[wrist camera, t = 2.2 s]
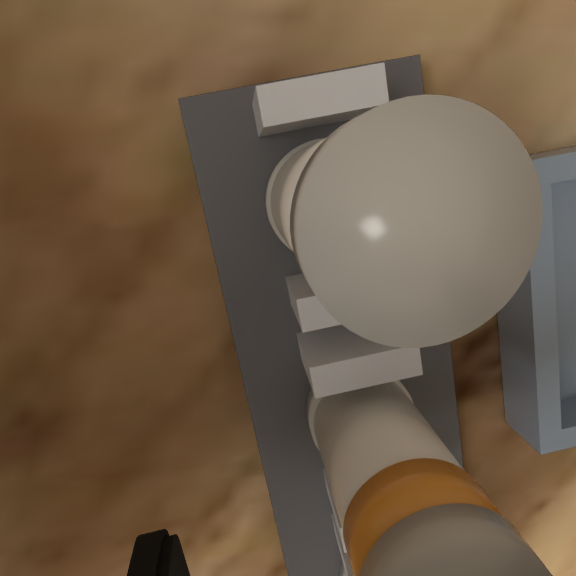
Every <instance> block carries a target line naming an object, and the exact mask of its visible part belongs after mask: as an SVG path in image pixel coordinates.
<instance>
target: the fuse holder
mask: <svg viewBox="0 0 576 576" xmlns="http://www.w3.org/2000/svg"><path fill="white" fill-rule="evenodd" d="M416 95H424V90H423V80H422V71H421V61H420V55H414V56H409V57H403V58H398V59H392V60H387V61H381V62H376V63H370V64H365V65H360V66H354V67H349V68H343V69H338V70H332V71H327V72H321V73H316V74H310V75H305V76H299V77H294V78H288V79H283V80H278V81H272V82H267V83H261V84H256V85H250V86H245V87H239V88H234V89H228V90H223V91H217V92H212V93H207V94H201V95H196V96H190V97H185V98H179V99H178V101H179V105H180V110H181V114H182V118H183V123H184V127H185V131H186V136H187V140H188V144H189V149H190V153H191V157H192V162H193V166H194V170H195V175H196V179H197V183H198V187H199V192H200V196H201V200H202V205H203V209H204V213H205V218H206V222H207V226H208V231H209V235H210V239H211V244H212V248H213V252H214V257H215V261H216V265H217V270H218V274H219V278H220V283H221V287H222V291H223V296H224V300H225V304H226V309H227V313H228V317H229V322H230V326H231V330H232V335H233V339H234V343H235V348H236V352H237V356H238V361H239V365H240V369H241V374H242V378H243V382H244V387H245V391H246V395H247V400H248V404H249V408H250V413H251V417H252V421H253V426H254V430H255V434H256V439H257V443H258V447H259V452H260V456H261V460H262V465H263V469H264V473H265V478H266V482H267V486H268V491H269V495H270V499H271V504H272V508H273V512H274V517H275V521H276V525H277V530H278V534H279V538H280V543H281V547H282V551H283V556H284V560H285V564H286V569H287V573H288V576H339V569H340V565H341V563H342V561H343V564H344V568H345V572H346V576H354V575H353V571H352V568H351V564H350V561H349V558H348V554H347V551H346V547H345V543H344V538H343V529H342V526H341V522H340V519H339V515H338V512H337V509H336V505H335V502H334V498H333V495H332V492H331V488H330V485H329V481H328V478H327V474H326V471H325V468H324V464H323V461H322V457H321V454H320V451H319V450H318V448H317V446H316V445H315V443H314V441H313V438H312V434H311V431H310V427H309V424H308V420H307V416H306V402H307V398H308V394H309V392H310V389H311V388H312V391H313V394H314V397H315V399H316V398H320V397H325V396H329V395H334V394H338V393H343V392H347V391H352V390H356V389H361V388H365V387H370V386H374V385H379V384H383V383H388V382H392V381H397V380H399V381H400V382H401V383H402V384H403V386H404V387H405V388H406V390H407V391H408V392H409V394H410V396H411V398H412V401H413V404H414V405H415V407H416V408H417V409H418V411H419V412H420V413H421V414H422V416H423V417H424V418H425V420H426V421H427V422H428V424H429V425H430V426H431V427H432V429H433V430H434V431H435V433H436V434H437V435H438V437H439V438H440V439H441V441H442V442H443V443H444V444H445V446H446V447H447V448H448V450H449V451H450V452H451V454H452V455H453V456H454V457H455V459H456V460H457V461H458V463H459V464H460V465H461V467H462V468H463V459H462V450H461V440H460V431H459V421H458V412H457V402H456V393H455V383H454V374H453V364H452V355H451V346H450V342H446V343H443V344H439V345H435V346H429V347H422V348H401V347H391V346H387V345H383V344H378V343H375V342H373V341H370V340H367V339H365V338H362V337H361V336H359V335H357V334H355V333H353V332H351V331H350V330H348V329H347V328H346V327H344V326H343V325H342V324H340V323H339V322H338V321H337V320H336V319H335V318H334V317H333V316H332V315H331V314H330V313H329V312H328V311H327V310H326V309H325V308H324V306H323V305H322V304H321V303H320V301H319V300H318V299H317V297H316V295H315V294H314V292H313V291H312V289H311V288H310V286H309V285H308V283H307V281H306V280H305V278H304V276H303V274H302V273H301V271H300V268H299V266H298V263H297V261H296V258H295V255H294V252H293V251H292V250H290V249H289V248H288V247H287V246H286V245H285V244H284V243H283V242H282V241H281V240H280V239H279V237H278V236H277V235H276V233H275V232H274V230H273V228H272V226H271V224H270V222H269V220H268V217H267V213H266V207H265V192H266V186H267V182H268V179H269V177H270V174H271V172H272V171H273V169H274V167H275V166H276V164H277V163H278V162H279V160H280V159H281V158H282V157H283V156H284V155H286V154H287V153H288V152H289V151H291V150H292V149H294V148H296V147H298V146H300V145H302V144H304V143H306V142H309V141H312V140H316V139H323V138H327V137H328V136H329V135H330V134H331V133H333V132H334V131H335V130H336V129H338V128H339V127H340V126H342V125H343V124H345V123H347V122H348V121H350V120H352V119H353V118H355V117H357V116H359V115H361V114H363V113H365V112H367V111H369V110H371V109H373V108H375V107H377V106H380V105H382V104H385V103H387V102H389V101H392V100H396V99H400V98H404V97H408V96H416Z"/></svg>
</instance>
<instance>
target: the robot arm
mask: <svg viewBox="0 0 576 576" xmlns="http://www.w3.org/2000/svg"><path fill="white" fill-rule="evenodd" d="M127 576H190V573H189V570H188V567H187V563H186V560H185V557H184V554H183V550H182V547H181V544H180V540H179V538H178V535H177V534H174V535H170V536H169V533H168V531H167V530H166V529H163V530H158V531H154V532H150V533H146V534H142V535H139V536H138V537H137V538H136V541H135V545H134V549H133V553H132V557H131V561H130V565H129V569H128V573H127Z"/></svg>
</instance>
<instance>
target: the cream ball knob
mask: <svg viewBox="0 0 576 576" xmlns="http://www.w3.org/2000/svg"><path fill="white" fill-rule="evenodd" d="M265 207H266V213H267V217H268V220H269V222H270V224H271V226H272V228H273V230H274V232H275V233H276V235H277V236H278V237H279V239H280V240H281V241H282V242H283V243H284V244H285V245H286V246H287V247H288V248H289V249H290V250H292V251H293V252H294V255H295V258H296V261H297V263H298V266H299V268H300V271H301V273H302V274H303V276H304V278H305V280H306V281H307V283H308V285H309V286H310V288H311V289H312V291H313V292H314V294H315V295H316V297H317V299H318V300H319V301H320V303H321V304H322V305H323V306H324V308H325V309H326V310H327V311H328V312H329V313H330V314H331V315H332V316H333V317H334V318H335V319H336V320H337V321H338V322H339V323H340V324H342V325H343V326H344V327H346V328H347V329H348V330H350V331H351V332H353V333H355V334H357V335H359V336H361V337H362V338H365V339H367V340H370V341H373V342H375V343H378V344H383V345H387V346H391V347H401V348H422V347H429V346H435V345H439V344H443V343H446V342H450V341H452V340H455V339H457V338H460V337H462V336H464V335H466V334H468V333H470V332H472V331H473V330H475V329H477V328H479V327H480V326H481V325H483V324H484V323H486V322H487V321H488V320H490V319H491V318H492V317H493V316H494V315H495V314H497V313H498V312H499V311H500V310H501V309H502V308H503V307H504V306H505V305H506V304H507V302H508V301H509V300H510V299H511V298H512V297H513V295H514V294H515V293H516V291H517V290H518V288H519V287H520V285H521V284H522V282H523V280H524V279H525V277H526V275H527V273H528V271H529V269H530V267H531V264H532V262H533V259H534V257H535V254H536V251H537V247H538V243H539V239H540V234H541V227H542V196H541V188H540V184H539V180H538V176H537V172H536V170H535V167H534V165H533V162H532V159H531V157H530V156H529V154H528V152H527V150H526V148H525V147H524V145H523V143H522V142H521V141H520V139H519V138H518V137H517V136H516V134H515V133H514V132H513V131H512V130H511V129H510V128H509V127H508V126H507V125H506V124H505V123H504V122H503V121H502V120H501V119H499V118H498V117H497V116H495V115H494V114H493V113H491V112H490V111H488V110H486V109H484V108H482V107H481V106H479V105H477V104H475V103H472V102H469V101H466V100H463V99H460V98H456V97H450V96H445V95H426V94H425V95H416V96H408V97H404V98H400V99H396V100H392V101H389V102H387V103H385V104H382V105H380V106H377V107H375V108H373V109H371V110H369V111H367V112H365V113H363V114H361V115H359V116H357V117H355V118H353V119H352V120H350V121H348V122H347V123H345V124H343V125H342V126H340V127H339V128H338V129H336V130H335V131H334V132H333V133H331V134H330V135H329V136H328V137H327V138H323V139H316V140H312V141H309V142H306V143H304V144H302V145H300V146H298V147H296V148H294V149H292V150H291V151H289V152H288V153H287V154H286V155H284V156H283V157H282V158H281V159H280V160H279V162H278V163H277V164H276V166H275V167H274V169H273V171H272V172H271V174H270V177H269V179H268V182H267V186H266V192H265Z"/></svg>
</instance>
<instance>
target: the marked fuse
mask: <svg viewBox="0 0 576 576" xmlns="http://www.w3.org/2000/svg"><path fill="white" fill-rule="evenodd" d="M306 416H307V420H308V424H309V427H310V431H311V434H312V438H313V441H314V443H315V445H316V446H317V448H318V450H319V451H320V454H321V457H322V461H323V464H324V468H325V471H326V474H327V478H328V481H329V485H330V488H331V492H332V495H333V498H334V502H335V505H336V509H337V512H338V515H339V519H340V522H341V526H342V529H343V538H344V543H345V547H346V551H347V554H348V558H349V561H350V564H351V568H352V571H353V575H354V576H552V574H551V573H550V572H549V570H548V569H547V568H546V567H545V565H544V564H543V563H542V561H541V560H540V559H539V558H538V556H537V555H536V554H535V553H534V551H533V550H532V549H531V547H530V546H529V545H528V544H527V542H526V541H525V540H524V539H523V537H522V536H521V535H520V533H519V532H518V531H517V530H516V528H515V527H514V526H513V525H512V524H511V523H510V522H509V521H508V520H507V519H506V518H504V517H503V516H502V515H501V513H500V512H499V511H498V509H497V508H496V507H495V506H494V504H493V503H492V502H491V500H490V499H489V498H488V497H487V495H486V494H485V493H484V491H483V490H482V489H481V488H480V486H479V485H478V484H477V482H476V481H475V480H474V479H473V477H472V476H471V475H469V474H468V473H467V472H466V471H465V470H464V469H463V468H462V467H461V465H460V464H459V463H458V461H457V460H456V459H455V457H454V456H453V455H452V454H451V452H450V451H449V450H448V448H447V447H446V446H445V444H444V443H443V442H442V441H441V439H440V438H439V437H438V435H437V434H436V433H435V431H434V430H433V429H432V427H431V426H430V425H429V424H428V422H427V421H426V420H425V418H424V417H423V416H422V414H421V413H420V412H419V411H418V409H417V408H416V407H415V405H414V404H413V401H412V398H411V396H410V394H409V392H408V391H407V390H406V388H405V387H404V386H403V384H402V383H401V382H400V381H399V380H397V381H392V382H388V383H383V384H379V385H374V386H370V387H365V388H361V389H356V390H352V391H347V392H343V393H338V394H334V395H329V396H325V397H320V398H316V399H315V397H314V394H313V391H312V388H311V389H310V392H309V394H308V398H307V402H306Z"/></svg>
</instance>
